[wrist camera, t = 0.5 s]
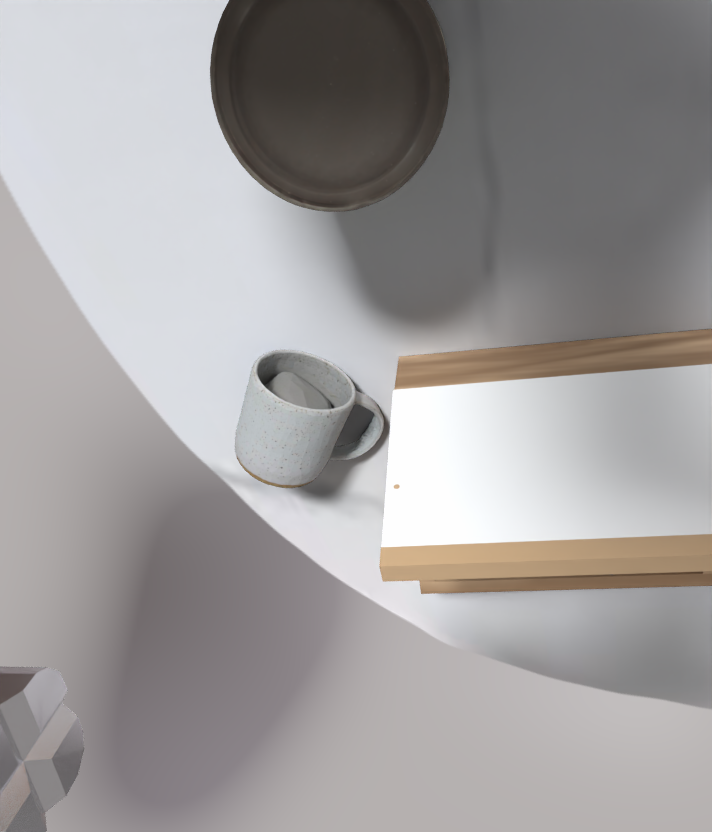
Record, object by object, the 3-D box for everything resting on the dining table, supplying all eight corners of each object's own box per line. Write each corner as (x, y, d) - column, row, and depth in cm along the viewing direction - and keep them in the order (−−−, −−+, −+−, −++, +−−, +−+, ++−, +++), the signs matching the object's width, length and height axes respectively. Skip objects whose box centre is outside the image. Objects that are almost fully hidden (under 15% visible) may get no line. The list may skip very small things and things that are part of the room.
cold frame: (398, 356, 49) (393, 394, 44) (716, 328, 46) (751, 365, 41) (423, 543, 58) (421, 593, 53) (692, 533, 54) (718, 585, 49)
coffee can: (270, -24, 38) (191, -51, 26) (450, -34, 37) (453, -67, 25) (286, 164, 44) (226, 214, 31) (445, 160, 42) (446, 211, 30)
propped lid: (393, 385, 45) (373, 529, 32) (749, 356, 41) (891, 506, 28) (415, 545, 51) (405, 718, 38) (723, 532, 47) (827, 720, 34)
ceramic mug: (243, 424, 54) (217, 479, 47) (266, 337, 50) (241, 384, 43) (366, 464, 55) (357, 524, 48) (399, 381, 51) (394, 434, 44)
